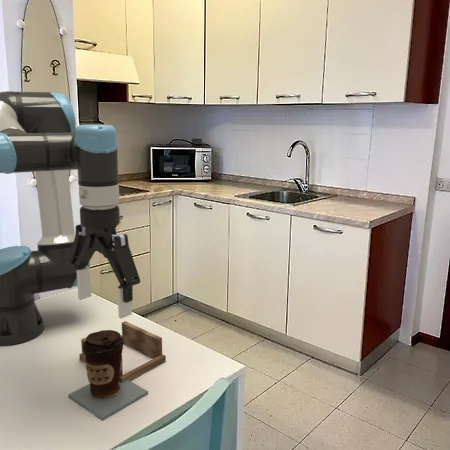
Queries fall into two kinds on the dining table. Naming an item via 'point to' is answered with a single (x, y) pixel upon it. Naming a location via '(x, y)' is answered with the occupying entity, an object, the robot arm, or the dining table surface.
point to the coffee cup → (104, 362)
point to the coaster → (108, 399)
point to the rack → (138, 349)
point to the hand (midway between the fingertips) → (104, 306)
